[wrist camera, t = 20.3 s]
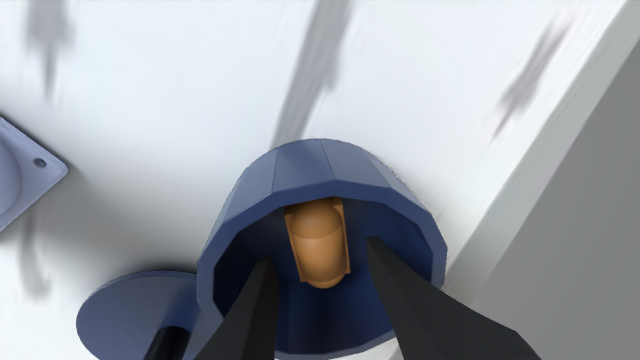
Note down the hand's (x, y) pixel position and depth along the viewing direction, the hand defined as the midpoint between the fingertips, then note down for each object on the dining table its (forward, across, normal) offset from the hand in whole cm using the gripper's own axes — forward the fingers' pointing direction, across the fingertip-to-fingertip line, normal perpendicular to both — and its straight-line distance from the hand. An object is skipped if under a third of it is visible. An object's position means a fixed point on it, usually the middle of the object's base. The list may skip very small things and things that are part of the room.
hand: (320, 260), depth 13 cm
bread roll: (+3, 0, 0) cm, 3 cm away
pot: (+3, 0, 0) cm, 4 cm away
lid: (+3, +12, +7) cm, 14 cm away
